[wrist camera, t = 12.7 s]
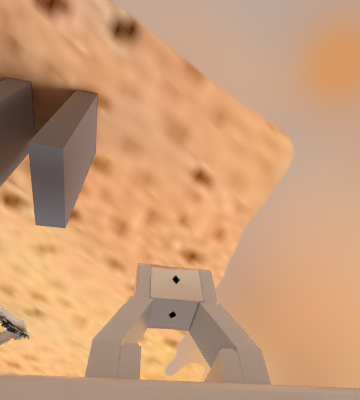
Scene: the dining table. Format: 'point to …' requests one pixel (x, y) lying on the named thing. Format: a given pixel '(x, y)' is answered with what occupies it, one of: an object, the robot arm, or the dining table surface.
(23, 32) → the dining table surface
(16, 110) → the domino
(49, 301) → the dining table surface
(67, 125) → the domino
